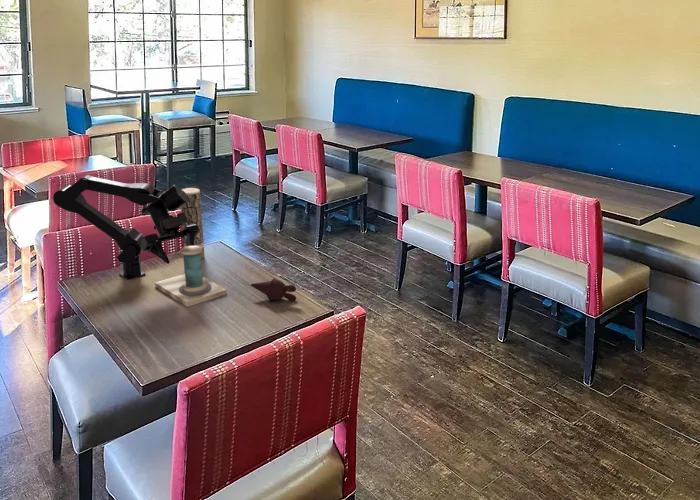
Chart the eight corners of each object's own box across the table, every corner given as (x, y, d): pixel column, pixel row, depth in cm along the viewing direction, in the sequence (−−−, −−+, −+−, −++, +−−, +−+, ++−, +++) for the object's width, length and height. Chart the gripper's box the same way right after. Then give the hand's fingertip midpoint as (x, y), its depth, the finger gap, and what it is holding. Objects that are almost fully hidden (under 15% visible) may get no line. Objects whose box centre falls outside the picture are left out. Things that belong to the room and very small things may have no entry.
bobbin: (177, 287, 204) (174, 249, 200) (199, 280, 209) (195, 243, 205) (190, 294, 199) (186, 255, 195) (211, 288, 204) (208, 249, 199)
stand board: (155, 286, 209) (154, 281, 208) (193, 275, 218) (193, 270, 217) (187, 306, 196) (187, 301, 195) (226, 293, 205) (226, 288, 204)
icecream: (245, 283, 197) (291, 292, 194) (254, 268, 203) (300, 278, 200) (246, 300, 201) (292, 310, 198) (256, 285, 207) (300, 295, 204)
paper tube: (200, 261, 230) (194, 193, 221) (182, 260, 231) (176, 192, 222) (207, 254, 236) (202, 188, 227) (190, 253, 237) (184, 187, 228)
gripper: (141, 211, 197) (162, 255, 194) (194, 200, 209) (215, 240, 206) (132, 229, 205) (152, 271, 202) (184, 217, 218) (204, 257, 214)
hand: (181, 259), depth 206 cm, fingers open, 9 cm apart
